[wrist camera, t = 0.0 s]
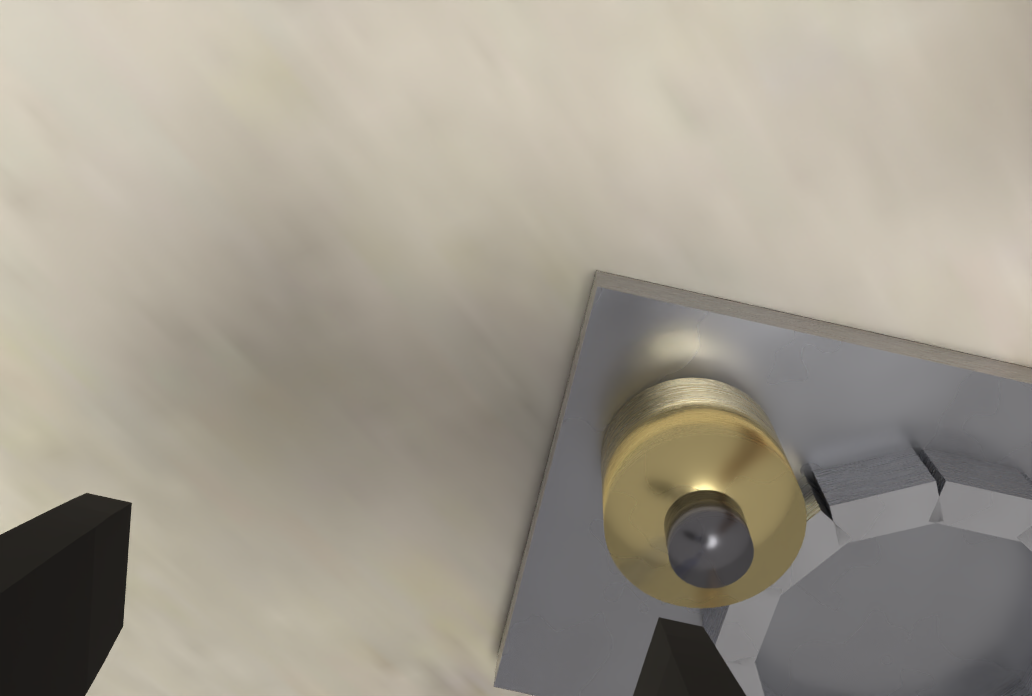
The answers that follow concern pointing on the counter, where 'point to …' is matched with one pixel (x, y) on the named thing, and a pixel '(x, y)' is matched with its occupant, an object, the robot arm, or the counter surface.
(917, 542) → the carrier
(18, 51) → the counter surface
